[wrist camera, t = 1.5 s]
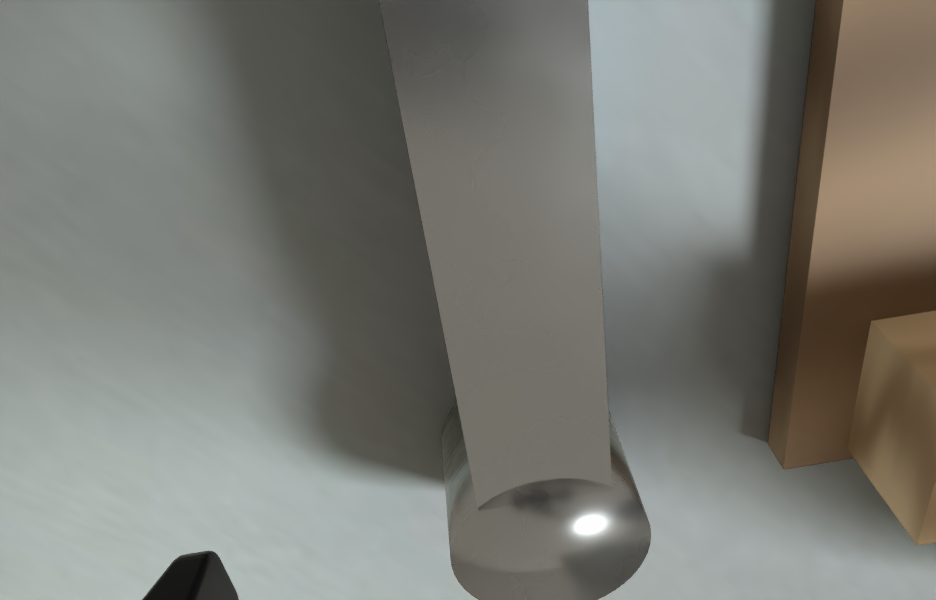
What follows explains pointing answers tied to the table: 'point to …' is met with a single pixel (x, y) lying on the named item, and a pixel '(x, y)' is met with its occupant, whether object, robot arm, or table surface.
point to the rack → (865, 258)
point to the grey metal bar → (517, 293)
